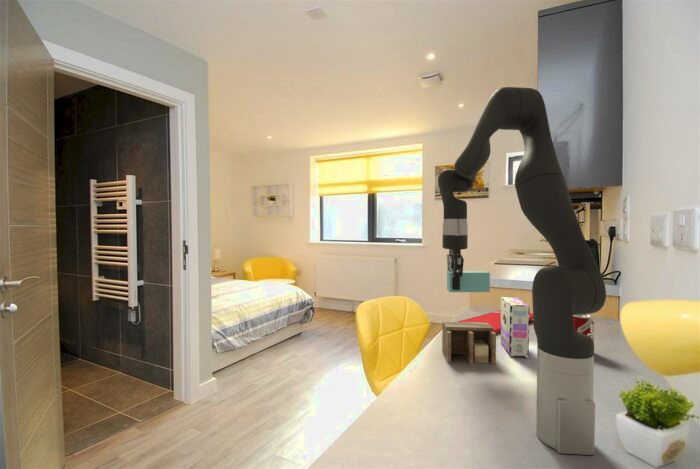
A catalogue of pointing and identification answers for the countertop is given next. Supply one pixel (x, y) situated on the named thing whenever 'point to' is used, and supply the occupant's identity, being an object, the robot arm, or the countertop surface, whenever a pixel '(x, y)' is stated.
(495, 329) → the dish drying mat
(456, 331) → the shelf
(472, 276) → the block
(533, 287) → the robot arm
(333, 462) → the countertop surface
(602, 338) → the countertop surface
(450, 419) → the countertop surface
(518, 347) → the candy box
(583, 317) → the soda can
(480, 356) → the oak offcut
